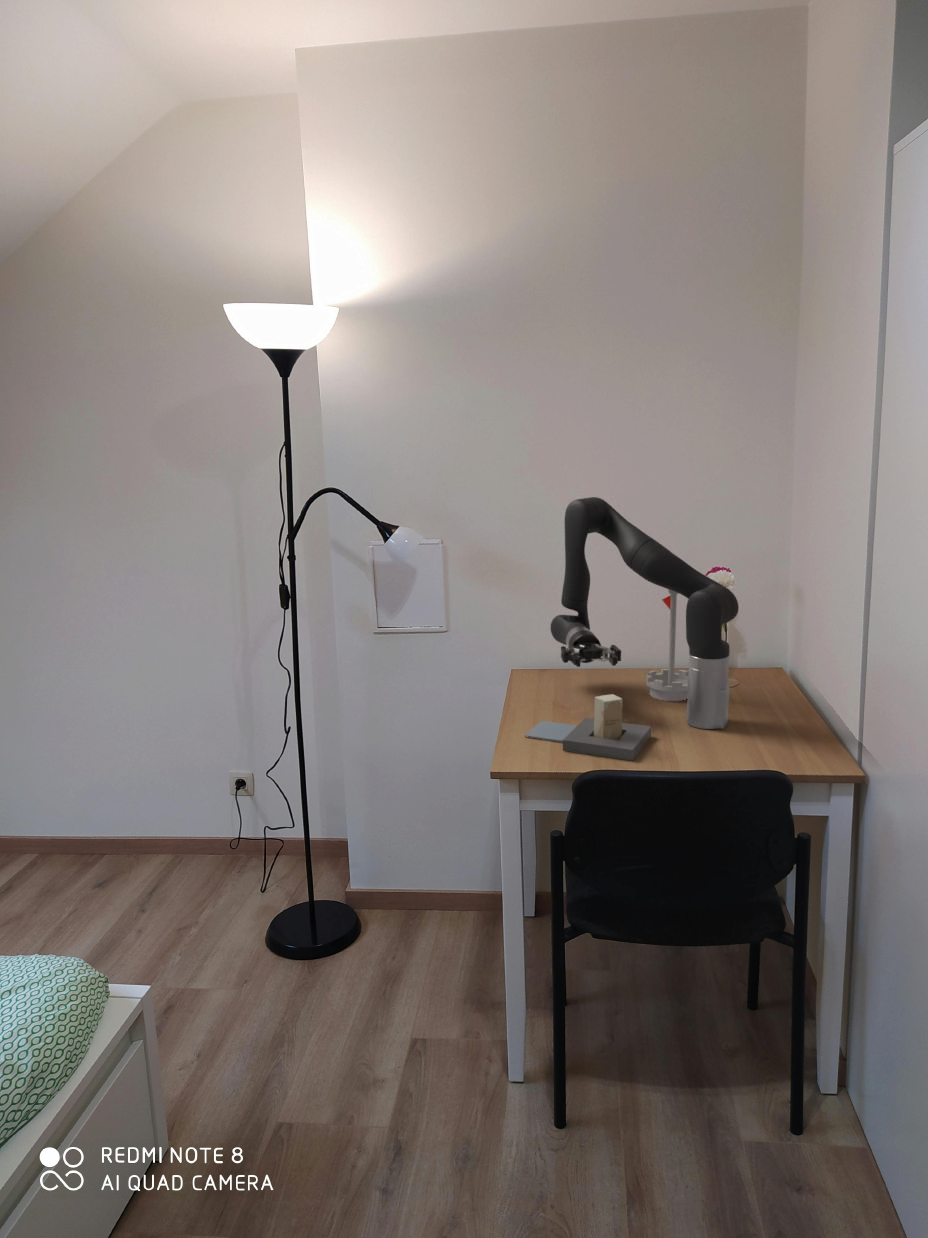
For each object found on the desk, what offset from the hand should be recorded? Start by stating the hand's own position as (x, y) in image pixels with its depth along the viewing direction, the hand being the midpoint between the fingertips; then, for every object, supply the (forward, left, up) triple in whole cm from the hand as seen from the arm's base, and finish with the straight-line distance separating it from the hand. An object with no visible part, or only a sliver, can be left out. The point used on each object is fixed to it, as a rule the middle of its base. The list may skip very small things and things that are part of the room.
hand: (596, 662), depth 216 cm
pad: (+8, +8, -16) cm, 20 cm away
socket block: (-6, +10, -16) cm, 20 cm away
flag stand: (-11, -31, -16) cm, 37 cm away
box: (-6, +10, -16) cm, 20 cm away
